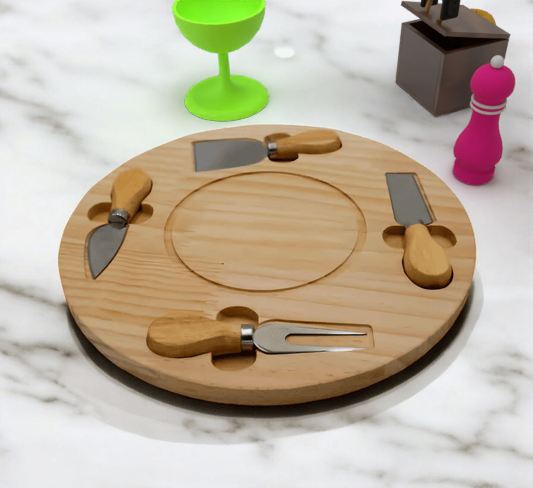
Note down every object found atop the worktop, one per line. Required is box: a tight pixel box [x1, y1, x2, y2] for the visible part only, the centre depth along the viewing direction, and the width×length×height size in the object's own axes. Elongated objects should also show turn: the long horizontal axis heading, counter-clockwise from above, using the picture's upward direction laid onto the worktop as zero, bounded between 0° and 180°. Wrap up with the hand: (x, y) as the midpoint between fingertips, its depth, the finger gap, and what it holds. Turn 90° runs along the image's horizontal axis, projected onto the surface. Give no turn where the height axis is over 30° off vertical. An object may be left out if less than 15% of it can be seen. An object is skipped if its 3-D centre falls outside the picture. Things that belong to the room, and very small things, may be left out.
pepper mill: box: [452, 55, 516, 186], centre depth 96 cm, size 7×7×20 cm
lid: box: [400, 0, 511, 40], centre depth 111 cm, size 14×14×6 cm
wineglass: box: [171, 0, 270, 122], centre depth 117 cm, size 16×16×18 cm
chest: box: [395, 18, 510, 118], centre depth 118 cm, size 13×14×12 cm
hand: (438, 10), depth 110 cm, fingers closed on lid, 5 cm apart
